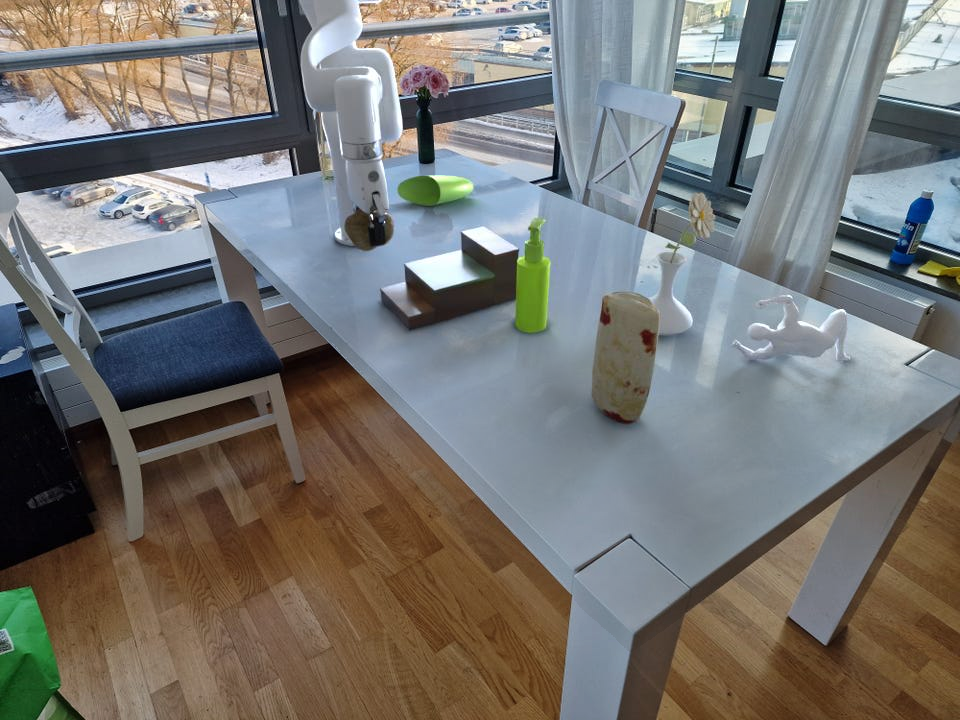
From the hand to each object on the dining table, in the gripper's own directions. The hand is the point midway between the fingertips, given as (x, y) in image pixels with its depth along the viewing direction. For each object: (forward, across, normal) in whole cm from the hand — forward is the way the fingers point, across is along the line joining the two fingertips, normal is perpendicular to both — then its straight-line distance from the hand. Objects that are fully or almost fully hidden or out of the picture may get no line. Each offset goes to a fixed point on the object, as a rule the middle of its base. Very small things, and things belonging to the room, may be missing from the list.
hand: (370, 237), depth 128 cm
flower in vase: (+10, -44, -40) cm, 60 cm away
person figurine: (+9, -64, -50) cm, 82 cm away
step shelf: (+10, -15, -10) cm, 21 cm away
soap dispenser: (+10, -31, -19) cm, 38 cm away
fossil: (+1, 0, 0) cm, 1 cm away
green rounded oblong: (+12, +37, -35) cm, 52 cm away
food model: (+9, -60, -15) cm, 62 cm away
